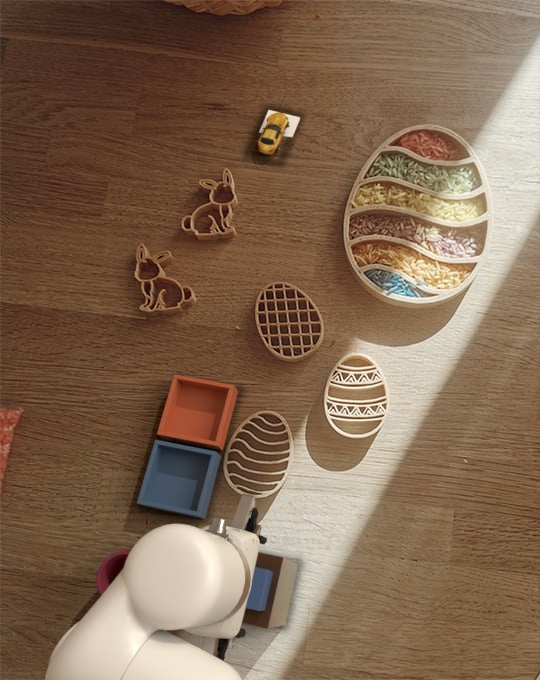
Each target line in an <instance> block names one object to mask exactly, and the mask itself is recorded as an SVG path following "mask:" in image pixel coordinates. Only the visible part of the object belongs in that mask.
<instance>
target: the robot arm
mask: <svg viewBox="0 0 540 680" xmlns="http://www.w3.org/2000/svg"><path fill="white" fill-rule="evenodd" d="M255 506H256V497H255V495H251V494H246V493H242V494H241V497H240V500H239V502H238V505H237V508H236V510H235V513H234V516H233V518H232V521H231V524H230V526H228V520H226V519H223V518H219V517H213V518H212V520H211V524H210V525H206V526H204V527H202V528H199V527H197V526H194V525H190V524H184V523H169V524H163V525H161V526H158V527H156V528H153V529H151V530H150V531H148V532H147V533H145V534H144V535H143V536H142V537H140V538H139V539H138V540H137V542H136V543H135V544H134V545H133V546H132V548H131V549H130V551H129V552H130V553H129V555H128V557H127V559H126V562H125V565H124V568H123V569H122V571H121V572H120V573H119V575H118V576H117V577H116V578H115V580H114V581H113V582H112V583H111V584H110V586H109V587H108V588H107V589H106V591H105V592H104V593H103V594H102V596H101V595H100V597H99V598H98V599H97V600H96V601H95V603H94V604H93V605H92V606H91V607H90V609H89V610H88V611H87V612H86V613H85V614H84V615H83V617H82V618H81V619H80V620H79V621H78V622H76V623H74V624H73V625H72V626H71V627H70V628H69V629H68V630H67V631H66V632H65V633H64V634H63V636H61V639H59V641H58V642H57V644H56V645H55V646H54V649H53V651H52V653H51V654H50V657H49V659H48V660H49V661H48V667H47V669H46V673H45V677H44V680H243V678H242V677H241V676H240V674H239V672H238V671H237V670H236V669H235V668H234V667H233V666H232V665H230V664H229V663H227V662H226V661H225V657H226V653H227V650H228V648H229V649H234V647H235V645H236V639H241V638H244V637H246V634H247V631H246V629H245V628H242V624H243V623H242V620H243V616H244V612H245V608H246V604H247V600H248V596H249V593H250V590H251V585H252V578H253V574H254V569H255V565H256V560H257V555H258V552H259V551H260V550H259V549H260V545H266V544H267V541H268V537H265V536H264V535H261V532H262V525H261V524H258V521H257V520H258V517H259V511H258V508H257V507H255ZM178 630H183V631H185V632H187V633H189V634H192V635H195V636H202V638H203V639H202V645H201V646H202V647H201V648H200V647H198V646H196V645H194V644H192V643H190V642H188V641H186V640H184V639H182V638H180V637H178V636H176V635H174V634H173V633H171V632H168V631H178Z"/></svg>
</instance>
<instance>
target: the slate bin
mask: <svg viewBox="0 0 540 680" xmlns="http://www.w3.org/2000/svg"><path fill="white" fill-rule="evenodd" d="M221 459H222V456H221V455H220V454H219V453H218V452H217V451H216V450H215V451H214V450H209V449H204V448H200V447H194V446H190V445H184V444H181V443H173V442H171V441H170V442H169V441H164V440H159V439H154V442H153V446H152V449H151V453H150V456H149V459H148V463H147V466H146V470H145V473H144V476H143V480H142V484H141V486H140V490H139V494H138V497H137V501H136V504H137V505H140V506H141V507H145V508H149V509H153V510H159V511H162V512H163V511H164V512H168V513H173V514H178V515H182V516H187V517H192V518H197V519H200V520H201V519H202V520H206V517H207V513H208V510H209V509H208V508H209V505H210V501H211V497H212V494H213V489H214V486H215V481H216V479H217V474H218V470H219V466H220V462H221Z"/></svg>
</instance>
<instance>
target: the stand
mask: <svg viewBox="0 0 540 680" xmlns="http://www.w3.org/2000/svg"><path fill="white" fill-rule="evenodd" d="M298 566H299V565H298V564H297V563H295V562H293V561H291V560H289V559H287V558H286V557H283V556H278V555H274V554H269V553H264V552H259V551H258V555H257V560H256V565H255V567H257V568H261V569H266V570H270V571H273V576H272V581H271V585H270V589H269V594H268V598H267V603H266V607H265V611H256V610H252V609H247V608H245V612H244V616H243V620H242V624H245V625H248V626H249V625H250V626H254V627H258V628H259V627H260V628H262V629H267V630H268V629H273V628H278V627H279V628H280V627H284V626H286V622H287V618H288V613H289V609H290V604H291V599H292V596H293V590H294V587H295V586H294V585H295V580H296V576H297V572H298V568H299V567H298Z"/></svg>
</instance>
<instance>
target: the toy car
mask: <svg viewBox="0 0 540 680" xmlns="http://www.w3.org/2000/svg"><path fill="white" fill-rule="evenodd" d="M300 121H301V116H297V115H292V114H288V113H284V112H279V111H275V110H271V109H268V111H267V113H266V115H265V117H264V119H263V122H262V124H261V126H260V129H259V131H258V133H259V134H261V135H260V137H259V139H258V140H257V142H256V146H257V148H258V152H259V153H261V154H263V155H269V156H273V155H274V154H275V153H277V152H279V151H280V150H281V147H280V145H281V142H282V139H283V137H286V138H287V137H288V138H293V137H294V135H295V132H296V130H297V128H298V125H299V123H300Z"/></svg>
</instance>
